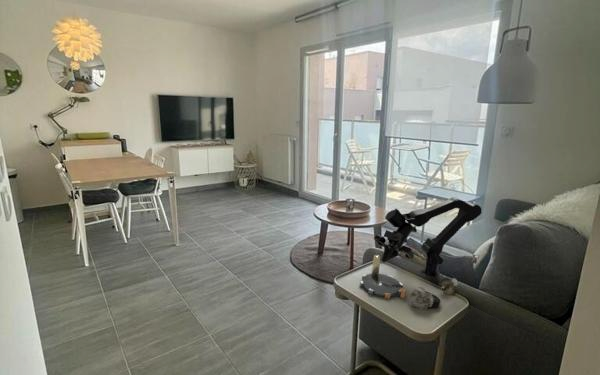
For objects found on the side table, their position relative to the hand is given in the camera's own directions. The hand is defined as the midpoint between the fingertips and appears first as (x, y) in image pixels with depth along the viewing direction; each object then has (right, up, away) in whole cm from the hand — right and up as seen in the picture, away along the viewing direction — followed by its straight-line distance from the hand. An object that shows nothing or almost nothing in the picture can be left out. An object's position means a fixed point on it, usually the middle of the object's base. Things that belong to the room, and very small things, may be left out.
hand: (382, 261), depth 143 cm
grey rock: (+12, -13, -16) cm, 24 cm away
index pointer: (+5, -11, -13) cm, 18 cm away
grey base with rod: (-3, -9, -7) cm, 12 cm away
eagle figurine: (+25, -11, -5) cm, 28 cm away
